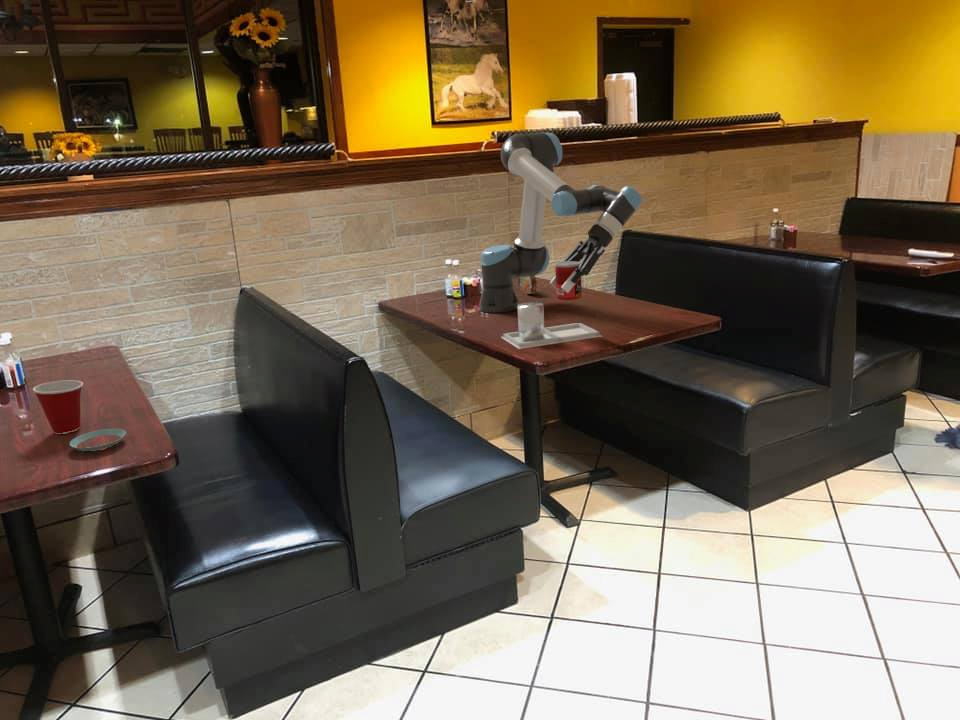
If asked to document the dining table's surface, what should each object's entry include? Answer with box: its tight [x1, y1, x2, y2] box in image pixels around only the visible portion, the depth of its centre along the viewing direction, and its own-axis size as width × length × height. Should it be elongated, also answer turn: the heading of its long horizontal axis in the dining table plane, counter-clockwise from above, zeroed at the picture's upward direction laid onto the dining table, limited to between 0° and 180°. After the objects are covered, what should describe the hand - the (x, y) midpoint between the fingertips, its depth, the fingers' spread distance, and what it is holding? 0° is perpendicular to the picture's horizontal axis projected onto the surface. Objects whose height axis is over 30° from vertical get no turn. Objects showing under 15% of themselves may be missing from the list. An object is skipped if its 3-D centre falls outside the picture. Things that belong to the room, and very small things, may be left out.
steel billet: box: [517, 301, 545, 342], centre depth 234 cm, size 8×8×11 cm
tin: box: [517, 275, 537, 295], centre depth 309 cm, size 15×3×8 cm, turn 18°
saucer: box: [69, 428, 127, 452], centre depth 174 cm, size 12×12×2 cm
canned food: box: [554, 261, 583, 301], centre depth 234 cm, size 8×8×11 cm
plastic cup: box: [32, 379, 84, 433], centre depth 183 cm, size 11×11×12 cm
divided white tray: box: [500, 322, 603, 350], centre depth 237 cm, size 16×28×3 cm, turn 109°
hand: (558, 287), depth 234 cm, fingers closed on canned food, 8 cm apart
